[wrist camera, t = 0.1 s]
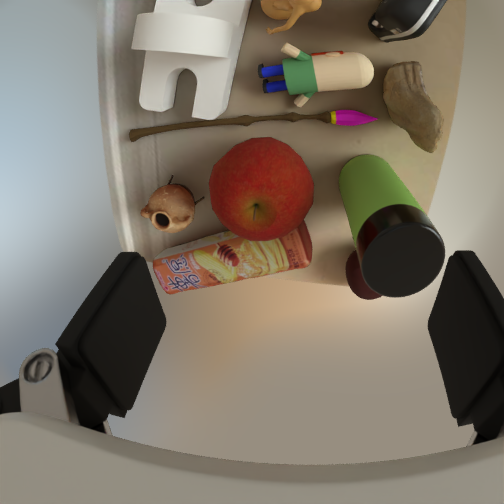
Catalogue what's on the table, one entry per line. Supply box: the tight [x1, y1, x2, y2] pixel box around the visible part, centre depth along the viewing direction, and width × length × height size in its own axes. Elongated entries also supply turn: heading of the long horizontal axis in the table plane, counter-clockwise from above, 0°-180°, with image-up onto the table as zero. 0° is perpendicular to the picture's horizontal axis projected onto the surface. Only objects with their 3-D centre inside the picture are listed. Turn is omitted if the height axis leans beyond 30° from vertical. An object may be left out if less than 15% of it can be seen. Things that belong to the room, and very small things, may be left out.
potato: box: [346, 250, 383, 300], centre depth 40 cm, size 7×8×6 cm
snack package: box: [153, 220, 312, 294], centre depth 42 cm, size 21×7×7 cm, turn 112°
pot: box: [141, 175, 204, 233], centre depth 38 cm, size 6×8×6 cm
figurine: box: [261, 0, 322, 35], centre depth 21 cm, size 8×6×12 cm
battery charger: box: [368, 0, 447, 42], centre depth 20 cm, size 7×4×11 cm, turn 151°
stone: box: [383, 61, 443, 153], centre depth 26 cm, size 9×5×10 cm, turn 5°
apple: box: [209, 137, 314, 241], centre depth 32 cm, size 10×10×14 cm
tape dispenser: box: [131, 0, 252, 120], centre depth 25 cm, size 10×18×11 cm, turn 168°
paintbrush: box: [129, 110, 378, 142], centre depth 34 cm, size 2×2×30 cm
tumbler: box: [339, 155, 445, 297], centre depth 30 cm, size 8×8×17 cm
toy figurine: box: [258, 42, 374, 107], centre depth 28 cm, size 8×4×12 cm
